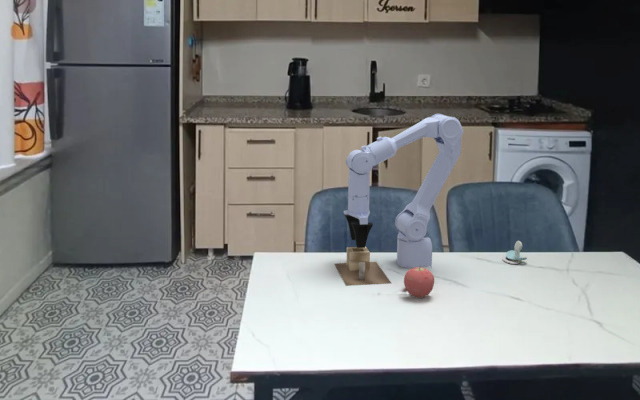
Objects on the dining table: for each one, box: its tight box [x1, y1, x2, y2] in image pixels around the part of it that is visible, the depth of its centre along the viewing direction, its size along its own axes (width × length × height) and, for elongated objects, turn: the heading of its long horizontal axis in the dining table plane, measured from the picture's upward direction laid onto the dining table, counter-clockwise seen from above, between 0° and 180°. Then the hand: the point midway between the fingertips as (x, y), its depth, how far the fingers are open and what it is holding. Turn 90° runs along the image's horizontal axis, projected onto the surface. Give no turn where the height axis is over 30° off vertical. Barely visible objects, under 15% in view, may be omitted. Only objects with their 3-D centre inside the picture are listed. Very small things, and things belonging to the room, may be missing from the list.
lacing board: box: [333, 261, 392, 287], centre depth 181 cm, size 12×18×6 cm, turn 8°
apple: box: [403, 266, 435, 299], centre depth 168 cm, size 7×7×8 cm
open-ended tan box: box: [346, 246, 371, 271], centre depth 185 cm, size 5×5×5 cm
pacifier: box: [502, 240, 528, 265], centre depth 195 cm, size 7×6×6 cm
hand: (358, 243), depth 184 cm, fingers open, 7 cm apart
